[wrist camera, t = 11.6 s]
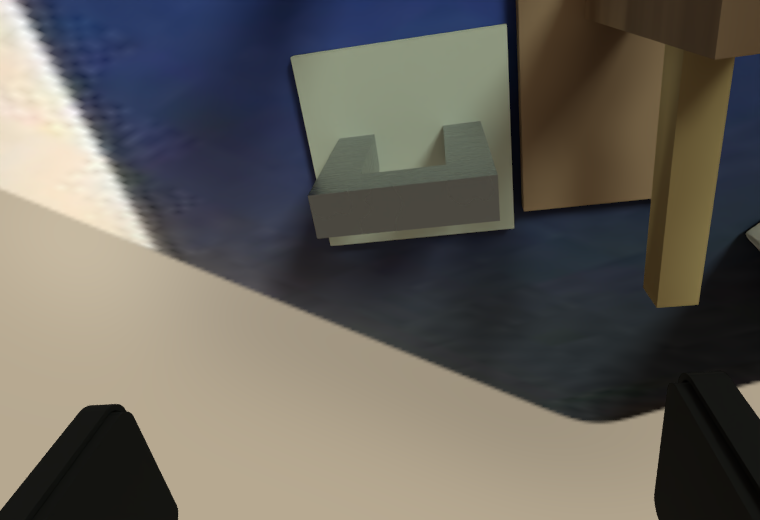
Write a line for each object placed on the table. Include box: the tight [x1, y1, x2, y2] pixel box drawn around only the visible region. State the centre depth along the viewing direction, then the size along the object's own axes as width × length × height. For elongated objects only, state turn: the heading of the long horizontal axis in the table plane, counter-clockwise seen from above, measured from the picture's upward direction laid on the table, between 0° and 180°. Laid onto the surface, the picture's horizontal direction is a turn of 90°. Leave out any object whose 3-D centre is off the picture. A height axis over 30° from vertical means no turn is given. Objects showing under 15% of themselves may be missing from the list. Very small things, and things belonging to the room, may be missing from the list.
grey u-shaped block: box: [308, 121, 500, 239], centre depth 23 cm, size 7×2×8 cm, turn 98°
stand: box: [516, 0, 760, 308], centre depth 20 cm, size 8×12×13 cm, turn 8°
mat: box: [290, 24, 514, 246], centre depth 27 cm, size 10×10×1 cm
